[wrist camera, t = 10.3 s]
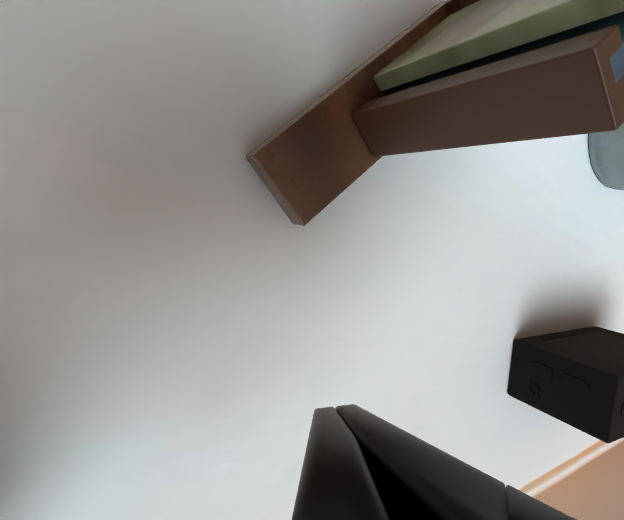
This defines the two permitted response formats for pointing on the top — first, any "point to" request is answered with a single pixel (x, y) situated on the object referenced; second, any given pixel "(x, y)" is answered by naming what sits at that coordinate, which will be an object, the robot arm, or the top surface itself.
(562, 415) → the digital camera
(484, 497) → the robot arm
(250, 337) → the top surface
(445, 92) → the sliding door
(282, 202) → the brown wooden panel stand
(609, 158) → the embossed grey plant pot
